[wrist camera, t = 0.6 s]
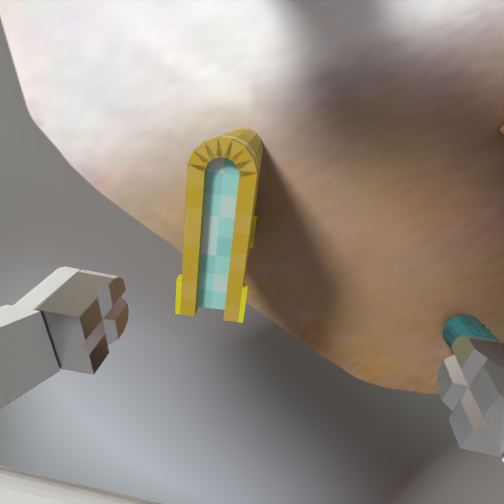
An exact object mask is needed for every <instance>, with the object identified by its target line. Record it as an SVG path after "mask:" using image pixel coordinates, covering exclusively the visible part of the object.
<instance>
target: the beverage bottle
mask: <svg viewBox="0 0 504 504" xmlns="http://www.w3.org/2000/svg"><path fill="white" fill-rule="evenodd" d="M485 327H486V326H484V325H483V324H481V323H480V322H479V321H478V320H477V319H476V318H474V317H472V316H469V315H459V316H455V317H453V318H451V319H450V320H449V321H448V322H447V323H446V324H445V326H444V328H443V335H444V336H443V337H444V338H445V341H447V343H448V344H449V346H452V344H453V343H454V341H455V339H456V338H458V337H459V336H461V335H464V336H470V337H476V338H482V339H488V340H494V341H499V340H498V339H497V338H496V337H495V336H494V334H492V333H490V332H489V331H490V330H489V329H488V328H487V327H486V328H487V329H488V330H489V331H488V330H487V329H486V328H485ZM451 349H452V348H451Z"/></svg>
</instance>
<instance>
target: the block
mask: <svg viewBox="0 0 504 504" xmlns="http://www.w3.org/2000/svg"><path fill="white" fill-rule="evenodd" d="M499 131H500V132H501V133H502V134H504V124H503V126H502V127H501V128H500V129H499Z"/></svg>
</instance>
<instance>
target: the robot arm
mask: <svg viewBox="0 0 504 504" xmlns="http://www.w3.org/2000/svg"><path fill="white" fill-rule="evenodd" d="M124 292H125V285H124V280H123V279H122V278H120V277H118V276H113V275H108V274H103V273H98V272H93V271H87V270H80V269H75V268H70V267H61V268H58V269H57V270H56V271H54V272H53V273H52V274H51V275H50V276H48V277H47V278H46V279H45V280H44V281H42V282H41V283H40V284H39V285H37V286H36V287H35V288H34V289H33V290H31V291H30V292H29V293H28V294H27V295H25V296H24V297H23V298H22V299H20V300H19V301H18V302H17V303H16V304H15V305H13V306H10V305H5V306H2V307H0V409H1V408H3V407H4V406H6V405H7V404H9V403H10V402H12V401H14V400H15V399H17V398H18V397H20V396H21V395H23V394H24V393H26V392H27V391H29V390H31V389H32V388H34V387H35V386H37V385H38V384H40V383H41V382H43V381H45V380H46V379H48V378H49V377H51V376H52V375H54V374H56V373H57V372H59V371H60V369H65V370H71V371H77V372H82V373H88V374H95V372H96V371H97V369H98V368H99V367H100V365H101V364H102V362H103V361H104V359H105V358H106V357H107V355H108V354H109V350H108V345H109V344H111V343H112V342H114V341H116V340H118V339H119V337H120V336H121V335H122V333H123V332H124V329H125V326H126V324H127V321H128V304H127V303H126V301H125V300H124V299H123V298H122V297H121V295H122V294H123V293H124ZM451 348H452V350H453V353H454V355H452V356H451V357H449V358H447V359H445V360H443V362H442V364H441V366H440V368H439V371H438V380H437V383H438V390H439V393H440V396H441V399H442V401H443V402H444V403H445V404H446V405H447V406H448V407H449V408H450V409H451V410H452V413H451V415H450V417H449V421H450V424H451V426H452V429H453V432H454V434H455V437H456V439H457V442H458V445H459V448H461V449H466V450H470V451H474V452H479V453H483V454H487V455H491V456H496V457H500V458H503V459H502V461H503V462H504V342H501V341H494V340H488V339H482V338H476V337H470V336H464V335H461V336H459V337H458V338H456V339H455V341H454V343H453V344H452V346H451ZM0 504H161V503H157V502H152V501H148V500H144V499H140V498H136V497H131V496H127V495H123V494H119V493H115V492H110V491H106V490H102V489H97V488H93V487H89V486H85V485H81V484H76V483H72V482H68V481H64V480H59V479H55V478H51V477H46V476H43V475H38V474H34V473H30V472H26V471H21V470H17V469H13V468H8V467H4V466H0Z"/></svg>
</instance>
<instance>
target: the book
mask: <svg viewBox="0 0 504 504" xmlns="http://www.w3.org/2000/svg"><path fill="white" fill-rule="evenodd" d="M262 154H263V144H262V140H261V139H260V137H259V136H258V135H257V133H255V132H253V131H252V130H250V129H239V130H236V131H233V132H230V133H227V134H224V135H222V136H219V137H216V138H213V139H211V140H208V141H205V142H203V143H202V144H201V145H200V146H199V147H198V148H196V149H195V150H194V151H193V153H192V155H191V157H190V160H189V162H188V166H187V186H186V206H185V226H184V246H183V268H182V275H179V276H178V278H177V286H176V310H175V313H176V314H183V315H191V316H195V314H196V311H197V309H198V306H201V307H208V308H215V309H223V310H225V311H224V312H225V313H224V320H227V321H234V322H241V323H243V318H244V310H245V303H246V296H247V289H248V284H245V283H244V281H245V275H246V269H247V262H248V256H249V250H250V248H253V244H254V236H255V229H256V222H257V216H254V214H255V207H256V199H257V192H258V184H259V177H260V169H261V161H262Z"/></svg>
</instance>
